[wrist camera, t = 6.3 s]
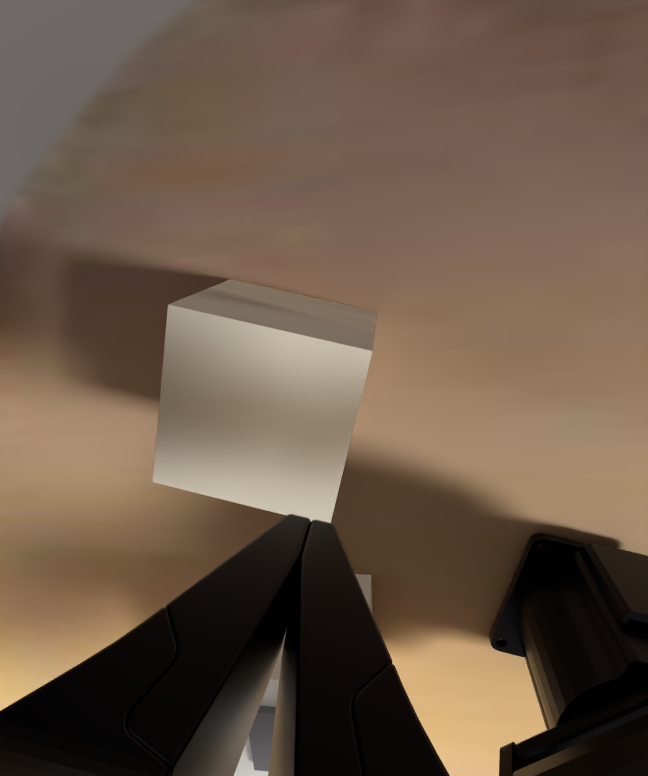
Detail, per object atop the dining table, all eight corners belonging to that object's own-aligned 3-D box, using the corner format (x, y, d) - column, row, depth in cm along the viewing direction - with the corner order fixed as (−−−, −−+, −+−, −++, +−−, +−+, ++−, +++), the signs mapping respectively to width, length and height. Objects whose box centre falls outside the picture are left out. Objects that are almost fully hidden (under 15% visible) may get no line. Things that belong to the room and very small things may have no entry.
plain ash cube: (345, 444, 22) (329, 525, 16) (213, 413, 22) (152, 482, 16) (377, 311, 19) (372, 350, 14) (231, 278, 20) (168, 304, 14)
